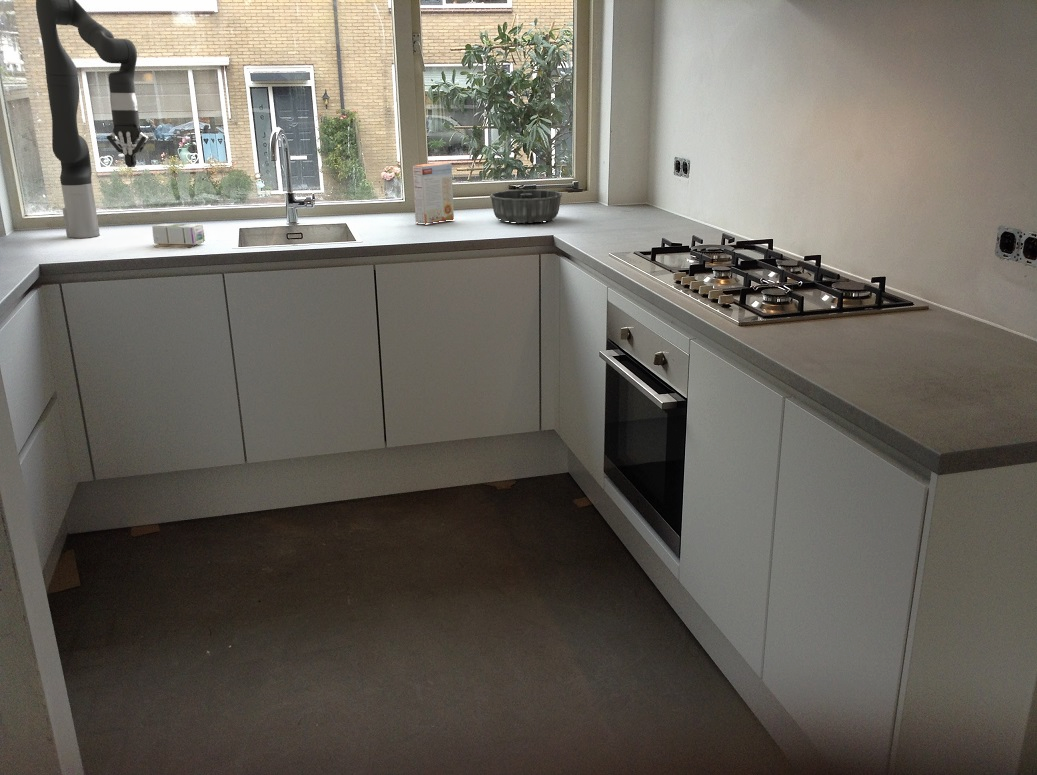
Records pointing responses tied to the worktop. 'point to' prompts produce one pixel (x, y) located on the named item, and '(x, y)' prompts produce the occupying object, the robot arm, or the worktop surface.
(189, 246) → the wooden slatted trivet
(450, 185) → the cracker box
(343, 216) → the worktop surface
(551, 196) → the bundt pan
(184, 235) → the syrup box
